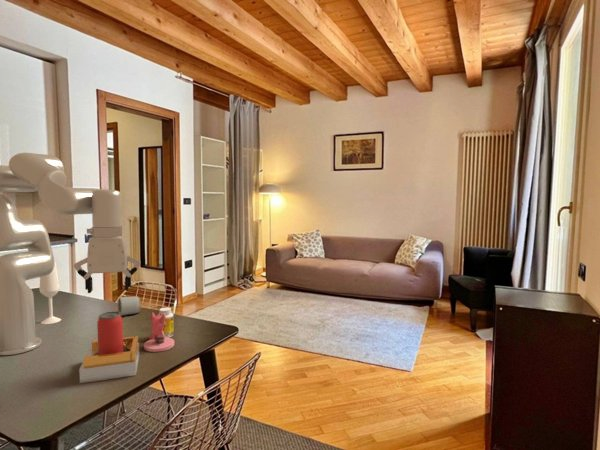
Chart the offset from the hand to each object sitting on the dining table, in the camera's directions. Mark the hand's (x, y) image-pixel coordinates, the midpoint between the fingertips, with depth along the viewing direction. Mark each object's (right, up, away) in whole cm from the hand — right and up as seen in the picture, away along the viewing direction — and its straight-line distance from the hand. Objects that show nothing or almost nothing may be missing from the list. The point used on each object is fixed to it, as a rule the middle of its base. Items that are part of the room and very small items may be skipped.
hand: (108, 290), depth 106 cm
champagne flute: (-44, -19, +39) cm, 62 cm away
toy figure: (+8, -22, +18) cm, 30 cm away
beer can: (0, -19, +2) cm, 19 cm away
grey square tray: (0, -23, +2) cm, 24 cm away
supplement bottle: (+7, -22, +26) cm, 34 cm away
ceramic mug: (-18, -19, +50) cm, 56 cm away
